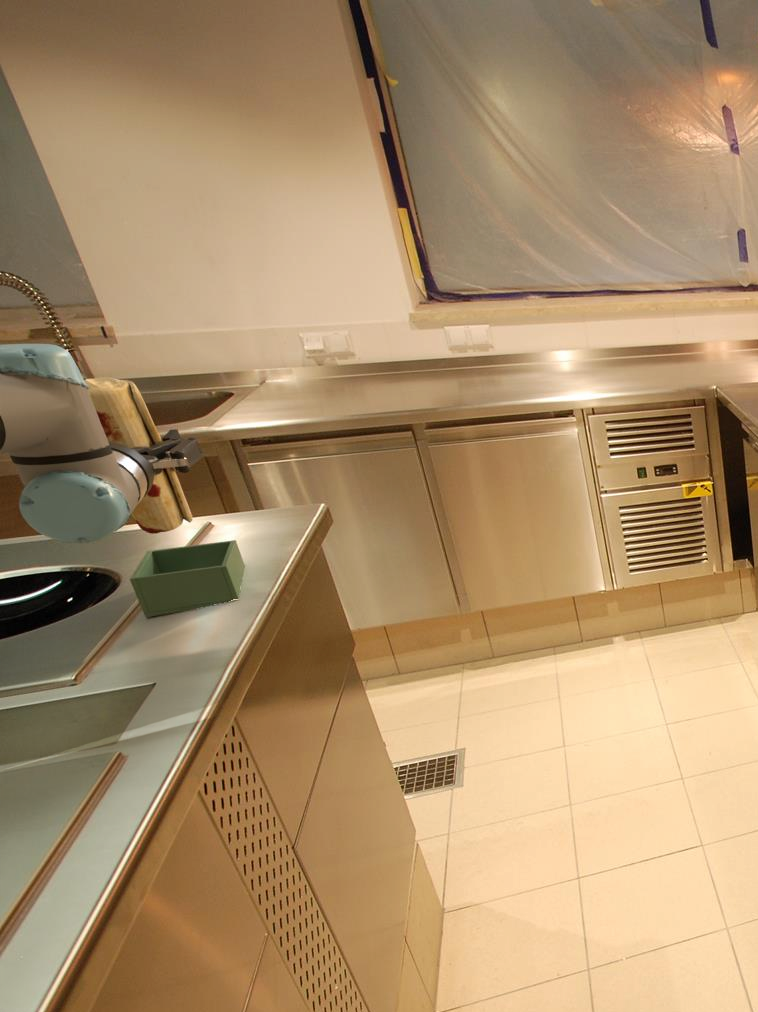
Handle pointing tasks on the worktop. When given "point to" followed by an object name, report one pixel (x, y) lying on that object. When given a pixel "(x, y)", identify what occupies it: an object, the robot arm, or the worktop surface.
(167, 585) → the bin
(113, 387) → the food model
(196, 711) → the worktop surface
